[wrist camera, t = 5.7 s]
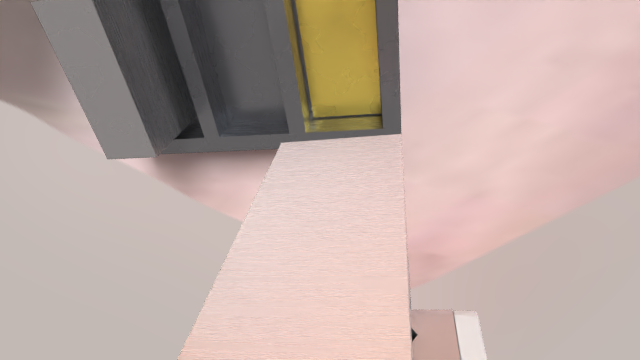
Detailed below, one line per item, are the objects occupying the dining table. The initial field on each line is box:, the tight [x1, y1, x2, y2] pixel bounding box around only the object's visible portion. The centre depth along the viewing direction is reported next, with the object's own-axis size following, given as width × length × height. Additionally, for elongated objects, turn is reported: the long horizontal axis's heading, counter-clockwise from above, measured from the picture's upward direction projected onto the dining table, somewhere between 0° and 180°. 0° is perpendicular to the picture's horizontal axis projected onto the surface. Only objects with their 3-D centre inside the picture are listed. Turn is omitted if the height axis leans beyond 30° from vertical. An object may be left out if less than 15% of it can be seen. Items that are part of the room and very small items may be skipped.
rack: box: [30, 0, 401, 159], centre depth 21 cm, size 18×12×7 cm
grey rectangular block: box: [177, 134, 413, 360], centre depth 9 cm, size 3×8×6 cm, turn 9°
